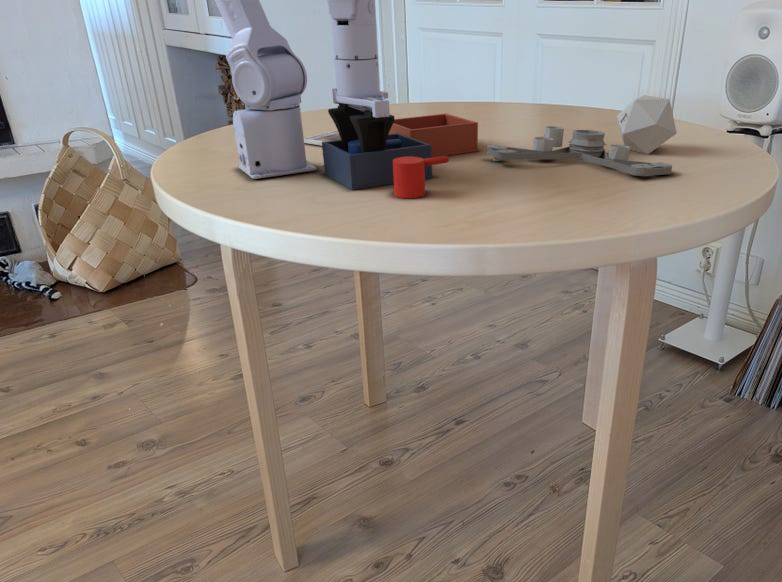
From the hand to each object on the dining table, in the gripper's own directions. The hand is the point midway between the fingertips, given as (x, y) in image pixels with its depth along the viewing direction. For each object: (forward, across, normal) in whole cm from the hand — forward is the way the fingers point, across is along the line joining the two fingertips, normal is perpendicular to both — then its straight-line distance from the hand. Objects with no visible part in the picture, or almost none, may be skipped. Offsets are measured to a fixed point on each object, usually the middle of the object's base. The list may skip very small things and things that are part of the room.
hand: (363, 164), depth 93 cm
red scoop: (+2, -11, -3) cm, 12 cm away
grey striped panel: (+2, +27, -10) cm, 29 cm away
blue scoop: (+1, 0, -2) cm, 2 cm away
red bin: (+2, +11, -16) cm, 20 cm away
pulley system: (+2, -9, -32) cm, 33 cm away
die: (+2, -8, -46) cm, 46 cm away
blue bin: (+2, 0, -2) cm, 3 cm away
